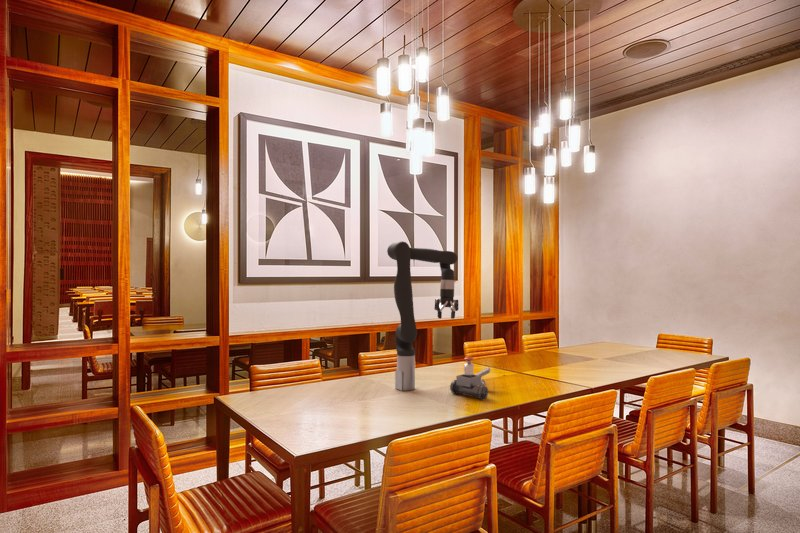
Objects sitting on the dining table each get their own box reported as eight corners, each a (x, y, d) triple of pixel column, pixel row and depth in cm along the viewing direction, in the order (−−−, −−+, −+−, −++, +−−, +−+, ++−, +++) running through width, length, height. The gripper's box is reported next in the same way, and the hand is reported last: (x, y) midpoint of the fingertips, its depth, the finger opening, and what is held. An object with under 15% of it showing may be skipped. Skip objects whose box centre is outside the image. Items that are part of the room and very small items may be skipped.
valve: (468, 383, 235) (468, 359, 235) (462, 382, 238) (462, 357, 238) (475, 382, 237) (475, 358, 237) (469, 381, 241) (469, 357, 241)
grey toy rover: (489, 398, 234) (489, 377, 234) (478, 401, 228) (478, 380, 228) (459, 391, 247) (459, 371, 247) (448, 394, 241) (448, 374, 241)
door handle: (461, 401, 250) (496, 384, 246) (453, 387, 251) (488, 369, 247) (465, 392, 267) (497, 376, 263) (457, 379, 268) (490, 362, 264)
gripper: (440, 288, 260) (439, 318, 259) (462, 289, 267) (461, 319, 266) (432, 287, 266) (431, 318, 265) (453, 288, 273) (452, 318, 273)
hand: (446, 318), depth 266 cm, fingers open, 8 cm apart
